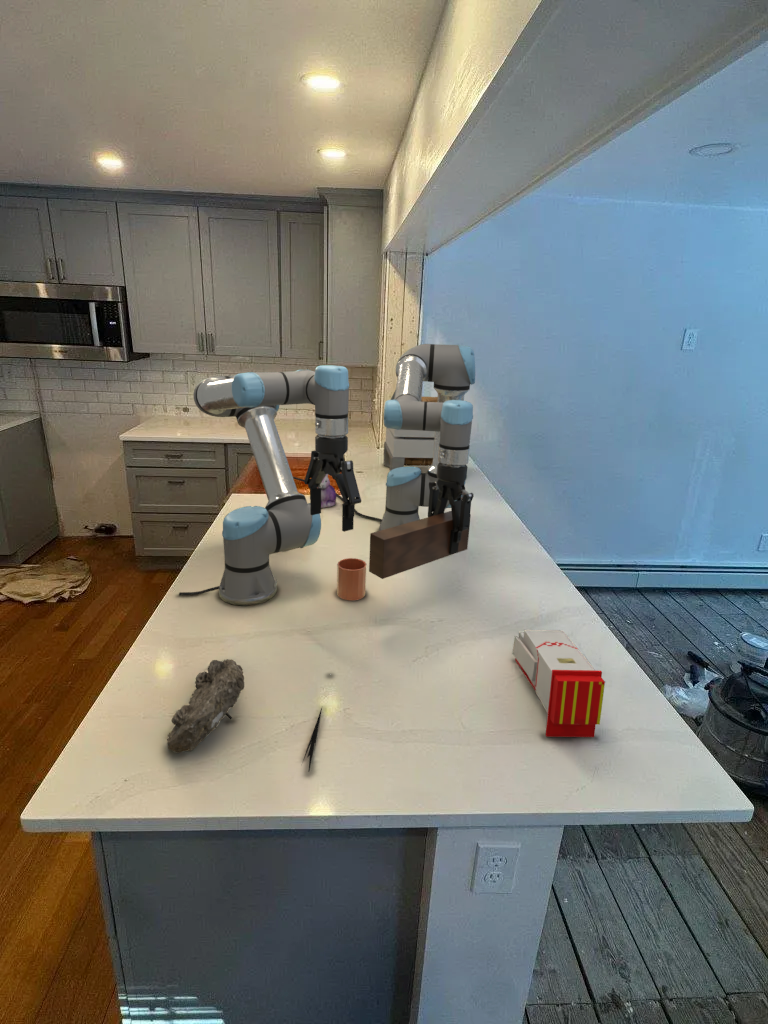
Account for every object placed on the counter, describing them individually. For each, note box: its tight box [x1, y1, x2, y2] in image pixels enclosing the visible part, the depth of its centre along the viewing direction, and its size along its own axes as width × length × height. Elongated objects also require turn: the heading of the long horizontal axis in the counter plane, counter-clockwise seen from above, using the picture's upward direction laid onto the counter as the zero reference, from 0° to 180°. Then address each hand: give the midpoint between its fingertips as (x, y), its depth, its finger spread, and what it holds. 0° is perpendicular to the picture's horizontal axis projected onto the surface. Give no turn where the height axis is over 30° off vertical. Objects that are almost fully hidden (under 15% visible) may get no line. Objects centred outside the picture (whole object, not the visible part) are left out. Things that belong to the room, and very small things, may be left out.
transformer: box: [383, 389, 438, 472], centre depth 268 cm, size 34×33×41 cm
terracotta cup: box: [336, 557, 368, 601], centre depth 155 cm, size 8×8×9 cm
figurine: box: [317, 474, 337, 509], centre depth 223 cm, size 9×10×15 cm
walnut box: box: [368, 510, 472, 580], centre depth 142 cm, size 30×5×10 cm, turn 131°
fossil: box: [166, 658, 245, 754], centre depth 106 cm, size 22×10×15 cm
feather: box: [301, 673, 332, 771], centre depth 108 cm, size 2×28×2 cm
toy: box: [511, 629, 606, 738], centre depth 118 cm, size 12×13×30 cm
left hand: (331, 521), depth 137 cm, fingers open, 13 cm apart
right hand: (445, 548), depth 150 cm, fingers closed on walnut box, 5 cm apart
